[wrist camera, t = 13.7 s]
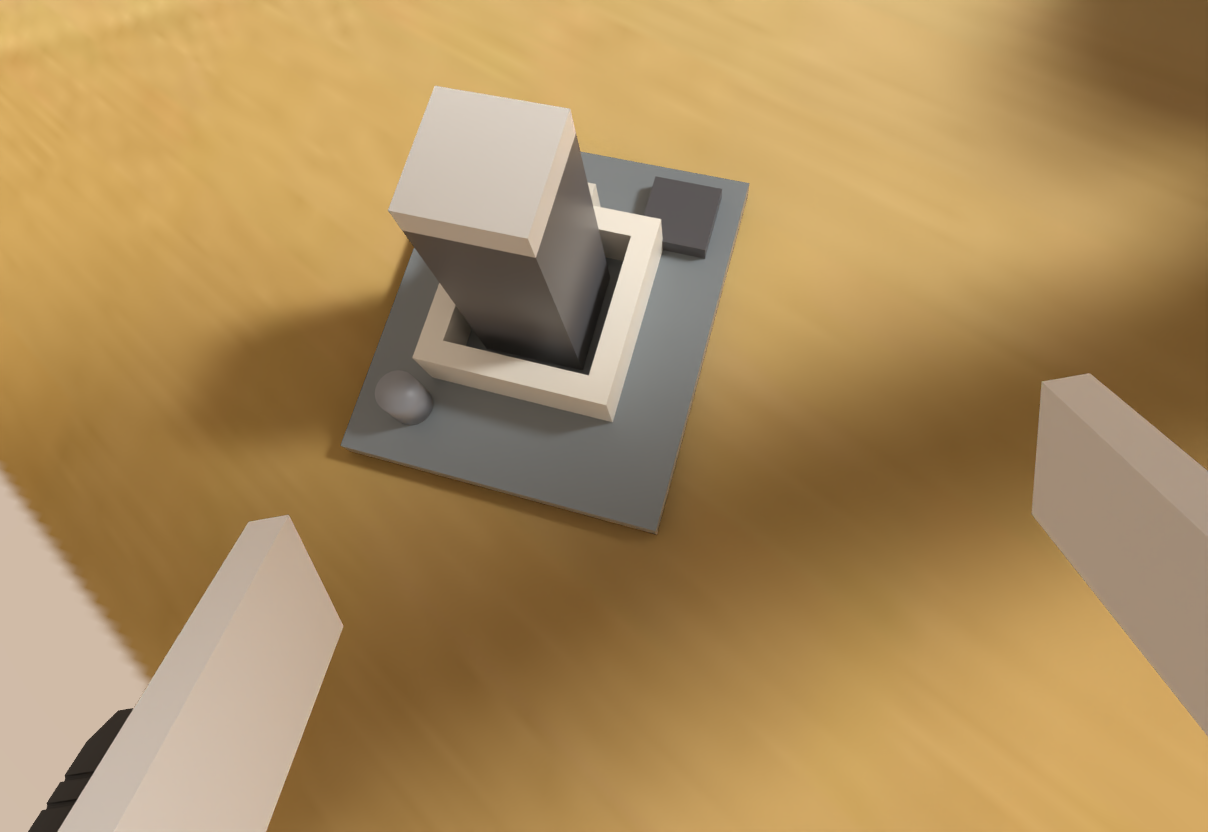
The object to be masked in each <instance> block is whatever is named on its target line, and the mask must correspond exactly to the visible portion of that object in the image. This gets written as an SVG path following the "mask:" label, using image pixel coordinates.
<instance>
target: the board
mask: <svg viewBox="0 0 1208 832" xmlns="http://www.w3.org/2000/svg"><path fill="white" fill-rule="evenodd" d="M581 157H582V161H583V165H584V169H585V174H586V178H587V182H588V186H589V190H590V195H591V199H592V203H593V207H594V212H595V216H596V220H597V224H598V228H599V233H600V237H601V241H602V245H603V250H604V254H605V258H606V262H607V266H608V271H609V275H610V280H609V283H608V287H607V290H606V293H605V297H604V300H603V304H602V307H601V310H600V314H599V317H598V321H597V324H596V327H595V331H594V334H593V338H592V341H591V344H590V348H589V351H588V354H587V358H586V361H585V365H584V368H583V370H579V369H575V368H570V367H566V366H562V365H557V364H553V363H549V362H544V361H540V360H535V359H531V358H527V357H522V356H518V355H514V354H509V353H505V352H500V351H496V350H492V349H487V348H486V347H485V346H484V344H483V343H482V342H481V340H480V339H479V337H478V336H477V335H476V333H475V332H474V330H473V329H472V328H471V326H470V325H469V323H468V322H467V321H466V319H465V318H464V316H463V315H462V314H461V312H460V311H459V309H458V308H457V307H456V305H455V304H454V302H453V301H452V300H451V298H450V297H449V295H448V294H447V293H446V291H445V290H444V288H443V287H442V286H441V284H440V283H439V281H438V280H437V279H436V277H435V276H434V274H433V273H432V272H431V270H430V269H429V267H428V266H427V264H426V263H425V262H424V260H423V259H422V257H421V256H420V255H419V253H418V252H417V250H416V249H415V248H414V249H413V252H412V255H411V257H410V260H409V263H408V266H407V268H406V271H405V274H404V276H403V279H402V282H401V284H400V287H399V290H398V292H397V295H396V298H395V300H394V303H393V306H392V308H391V311H390V314H389V317H388V319H387V322H386V325H385V327H384V330H383V333H382V335H381V338H380V341H379V343H378V346H377V349H376V351H375V354H374V357H373V359H372V362H371V365H370V368H369V370H368V373H367V376H366V378H365V381H364V384H363V386H362V389H361V392H360V394H359V397H358V400H357V402H356V405H355V408H354V410H353V413H352V416H351V419H350V421H349V424H348V427H347V429H346V432H345V435H344V437H343V440H342V443H341V445H340V446H342V447H344V448H345V449H347V450H349V451H352V452H355V453H359V454H363V455H366V456H370V457H374V458H377V459H381V460H385V461H388V462H392V463H396V464H400V465H403V466H407V467H411V468H414V469H418V470H422V471H425V472H429V473H433V474H436V475H440V476H444V477H447V478H451V479H455V480H458V481H462V482H466V483H469V484H473V485H477V486H480V487H484V488H488V489H491V490H495V491H499V492H502V493H506V494H510V495H514V496H517V497H521V498H525V499H528V500H532V501H536V502H539V503H543V504H547V505H550V506H554V507H558V508H561V509H565V510H569V511H572V512H576V513H580V514H583V515H587V516H591V517H594V518H598V519H602V520H605V521H609V522H613V523H616V524H620V525H624V526H627V527H631V528H635V529H639V530H642V531H646V532H650V533H653V534H657V533H658V529H659V525H660V521H661V518H662V514H663V510H664V506H665V503H666V499H667V495H668V491H669V488H670V484H671V480H672V477H673V473H674V469H675V465H676V462H677V458H678V454H679V450H680V447H681V443H682V439H683V435H684V432H685V428H686V424H687V421H688V417H689V413H690V409H691V406H692V402H693V398H694V394H695V391H696V387H697V383H698V379H699V376H700V372H701V368H702V364H703V361H704V357H705V353H706V350H707V346H708V342H709V338H710V335H711V331H712V327H713V323H714V320H715V316H716V312H717V308H718V305H719V301H720V297H721V294H722V290H723V286H724V282H725V279H726V275H727V271H728V267H729V264H730V260H731V256H732V252H733V249H734V245H735V241H736V238H737V234H738V230H739V226H740V223H741V219H742V215H743V211H744V208H745V204H746V200H747V196H748V189H749V183H745V182H739V181H734V180H729V179H723V178H718V177H713V176H707V175H702V174H697V173H691V172H686V171H681V170H675V169H670V168H665V167H659V166H654V165H649V164H643V163H638V162H633V161H627V160H622V159H617V158H611V157H606V156H601V155H595V154H590V153H585V152H581Z"/></svg>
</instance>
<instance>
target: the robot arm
mask: <svg viewBox="0 0 1208 832" xmlns="http://www.w3.org/2000/svg"><path fill="white" fill-rule="evenodd" d="M1032 515H1033V517H1034V518H1035V519H1036V520H1037V522H1038V523H1039V524H1040V525H1041V527H1042V528H1043V529H1044V530H1045V532H1046V533H1047V534H1048V535H1049V537H1050V538H1051V539H1052V541H1053V542H1054V543H1055V544H1056V546H1057V547H1058V548H1059V549H1060V551H1061V552H1062V553H1063V554H1064V556H1065V557H1066V558H1067V559H1068V561H1069V562H1070V563H1071V564H1072V566H1073V567H1074V568H1075V570H1076V571H1077V572H1078V573H1079V575H1080V576H1081V577H1082V578H1083V580H1084V581H1085V582H1086V583H1087V585H1088V586H1089V587H1090V588H1091V590H1092V591H1093V592H1094V593H1095V595H1096V596H1097V597H1098V598H1099V600H1100V601H1101V602H1102V604H1103V605H1104V606H1105V607H1106V609H1107V610H1108V611H1109V612H1110V614H1111V615H1112V616H1113V617H1114V619H1115V620H1116V621H1117V622H1118V624H1119V625H1120V626H1121V627H1122V629H1123V630H1124V631H1125V632H1126V634H1127V635H1128V636H1129V638H1130V639H1131V640H1132V641H1133V643H1134V644H1135V645H1136V646H1137V648H1138V649H1139V650H1140V651H1141V653H1142V654H1143V655H1144V656H1145V658H1146V659H1147V660H1148V661H1149V663H1150V664H1151V665H1152V667H1153V668H1154V669H1155V670H1156V672H1157V673H1158V674H1159V675H1160V677H1161V678H1162V679H1163V680H1164V682H1165V683H1166V684H1167V685H1168V687H1169V688H1170V689H1171V690H1172V692H1173V693H1174V694H1175V695H1176V697H1177V698H1178V699H1179V701H1180V702H1181V703H1182V704H1183V706H1184V707H1185V708H1186V709H1187V711H1188V712H1189V713H1190V714H1191V716H1192V717H1193V718H1194V719H1195V721H1196V722H1197V723H1198V724H1199V726H1200V727H1201V728H1202V730H1203V731H1204V732H1205V733H1206V735H1207V736H1208V471H1207V470H1206V469H1205V468H1204V467H1202V466H1201V465H1200V464H1199V463H1198V462H1196V461H1195V460H1194V459H1193V458H1192V457H1190V456H1189V455H1188V454H1187V453H1186V452H1184V451H1183V450H1182V449H1181V448H1180V447H1178V446H1177V445H1176V444H1175V443H1173V442H1172V441H1171V440H1170V439H1169V438H1167V437H1166V436H1165V435H1164V434H1163V433H1161V432H1160V431H1159V430H1158V429H1157V428H1155V427H1154V426H1153V425H1152V424H1151V423H1149V422H1148V421H1147V420H1146V419H1144V418H1143V417H1142V416H1141V415H1140V414H1138V413H1137V412H1136V411H1135V410H1134V409H1132V408H1131V407H1130V406H1129V405H1128V404H1126V403H1125V402H1124V401H1123V400H1122V399H1120V398H1119V397H1118V396H1117V395H1116V394H1114V393H1113V392H1112V391H1111V390H1109V389H1108V388H1107V387H1106V386H1105V385H1103V384H1102V383H1101V382H1100V381H1099V380H1097V379H1096V378H1095V377H1094V376H1093V375H1091V374H1090V373H1087V374H1082V375H1076V376H1070V377H1065V378H1059V379H1054V380H1048V381H1042V384H1041V397H1040V410H1039V423H1038V436H1037V449H1036V462H1035V476H1034V489H1033V502H1032ZM342 629H343V624H342V622H341V620H340V618H339V616H338V614H337V612H336V610H335V608H334V606H333V604H332V602H331V600H330V598H329V595H328V593H327V591H326V589H325V587H324V585H323V583H322V581H321V579H320V577H319V575H318V573H317V571H316V569H315V567H314V565H313V563H312V561H311V559H310V557H309V555H308V553H307V551H306V549H305V547H304V545H303V542H302V540H301V538H300V536H299V534H298V532H297V530H296V528H295V526H294V524H293V522H292V520H291V518H290V516H289V515H284V516H278V517H273V518H267V519H261V520H256V521H250V522H248V524H247V525H246V527H245V528H244V530H243V532H242V533H241V535H240V537H239V538H238V540H237V541H236V543H235V545H234V546H233V548H232V549H231V551H230V553H229V554H228V556H227V558H226V559H225V561H224V562H223V564H222V566H221V567H220V569H219V571H218V572H217V574H216V575H215V577H214V579H213V580H212V582H211V584H210V585H209V587H208V588H207V590H206V592H205V593H204V595H203V597H202V598H201V600H200V601H199V603H198V605H197V606H196V608H195V610H194V611H193V613H192V614H191V616H190V618H189V619H188V621H187V622H186V624H185V626H184V627H183V629H182V631H181V632H180V634H179V635H178V637H177V639H176V640H175V642H174V644H173V645H172V647H171V648H170V650H169V652H168V653H167V655H166V657H165V658H164V660H163V661H162V663H161V665H160V666H159V668H158V670H157V671H156V673H155V674H154V676H153V678H152V679H151V681H150V682H149V684H148V686H147V687H146V689H145V691H144V692H143V694H142V696H141V697H140V699H139V700H138V702H137V704H136V705H135V707H134V708H132V709H126V710H120V711H117V712H116V713H115V714H114V715H113V717H111V718H110V719H109V720H108V721H107V722H106V723H105V724H104V725H103V726H102V727H101V728H100V729H99V730H98V731H97V732H96V733H95V734H94V735H93V736H92V737H91V738H90V739H89V740H88V741H87V742H86V744H85V745H84V747H83V748H82V750H81V751H80V753H79V754H78V756H77V757H76V759H75V760H74V762H73V763H72V765H71V767H70V768H69V770H68V771H67V773H66V774H65V781H64V782H60V783H59V785H58V787H57V788H56V790H55V791H54V793H53V794H52V796H51V797H50V799H49V800H48V802H47V809H46V810H42V811H41V813H40V814H39V816H38V817H37V819H36V820H35V822H34V823H33V825H32V827H31V828H30V830H29V831H28V832H266V831H267V828H268V825H269V823H270V820H271V817H272V815H273V812H274V809H275V807H276V804H277V801H278V799H279V796H280V793H281V791H282V788H283V786H284V783H285V780H286V778H287V775H288V772H289V770H290V767H291V764H292V762H293V759H294V756H295V754H296V751H297V748H298V746H299V743H300V740H301V738H302V735H303V732H304V730H305V727H306V724H307V722H308V719H309V716H310V714H311V711H312V709H313V706H314V703H315V701H316V698H317V695H318V693H319V690H320V687H321V685H322V682H323V679H324V677H325V674H326V671H327V669H328V666H329V663H330V661H331V658H332V655H333V653H334V650H335V647H336V645H337V642H338V639H339V637H340V634H341V632H342Z"/></svg>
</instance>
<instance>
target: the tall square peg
mask: <svg viewBox="0 0 1208 832" xmlns="http://www.w3.org/2000/svg"><path fill="white" fill-rule="evenodd" d="M388 211H389V213H390V214H391V215H392V217H393V218H394V220H395V221H396V222H397V224H398V225H399V227H400V228H401V229H402V231H403V232H404V234H405V235H406V236H407V238H408V239H409V241H410V242H411V243H412V245H413V246H414V248H415V249H416V250H417V252H418V253H419V255H420V256H421V257H422V259H423V260H424V262H425V263H426V264H427V266H428V267H429V269H430V270H431V272H432V273H433V274H434V276H435V277H436V279H437V280H438V281H439V283H440V284H441V286H442V287H443V288H444V290H445V291H446V293H447V294H448V295H449V297H450V298H451V300H452V301H453V302H454V304H455V305H456V307H457V308H458V309H459V311H460V312H461V314H462V315H463V316H464V318H465V319H466V321H467V322H468V323H469V325H470V326H471V328H472V329H473V330H474V332H475V333H476V335H477V336H478V337H479V339H480V340H481V342H482V343H483V344H484V346H485V347H486V348H487V349H492V350H496V351H500V352H505V353H509V354H514V355H518V356H522V357H527V358H531V359H535V360H540V361H544V362H549V363H553V364H557V365H562V366H566V367H570V368H575V369H579V370H583V368H584V365H585V361H586V358H587V354H588V351H589V348H590V344H591V341H592V338H593V334H594V331H595V327H596V324H597V321H598V317H599V314H600V310H601V307H602V304H603V300H604V297H605V293H606V290H607V287H608V283H609V280H610V275H609V271H608V266H607V262H606V258H605V254H604V250H603V245H602V241H601V237H600V233H599V228H598V224H597V220H596V216H595V212H594V207H593V203H592V199H591V195H590V190H589V186H588V182H587V178H586V174H585V169H584V165H583V161H582V157H581V152H580V148H579V144H578V140H577V136H576V131H575V127H574V123H573V119H572V114H571V110H570V109H569V108H563V107H557V106H551V105H545V104H539V103H533V102H527V101H522V100H516V99H510V98H504V97H498V96H492V95H486V94H480V93H474V92H468V91H463V90H457V89H451V88H445V87H439V86H435V87H434V89H433V92H432V95H431V97H430V100H429V103H428V105H427V108H426V110H425V113H424V116H423V118H422V121H421V124H420V126H419V129H418V132H417V134H416V137H415V140H414V142H413V145H412V148H411V150H410V153H409V156H408V158H407V161H406V164H405V166H404V169H403V172H402V174H401V177H400V180H399V182H398V185H397V188H396V190H395V193H394V196H393V198H392V201H391V204H390V206H389V209H388Z"/></svg>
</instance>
